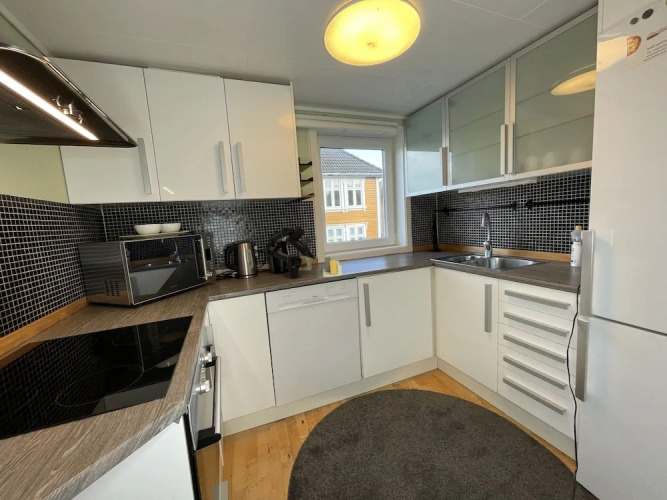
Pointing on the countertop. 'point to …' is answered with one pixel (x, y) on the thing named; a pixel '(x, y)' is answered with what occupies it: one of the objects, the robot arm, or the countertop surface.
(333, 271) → the ochre key
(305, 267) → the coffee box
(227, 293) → the countertop surface
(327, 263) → the charcoal key middle
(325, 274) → the key console
